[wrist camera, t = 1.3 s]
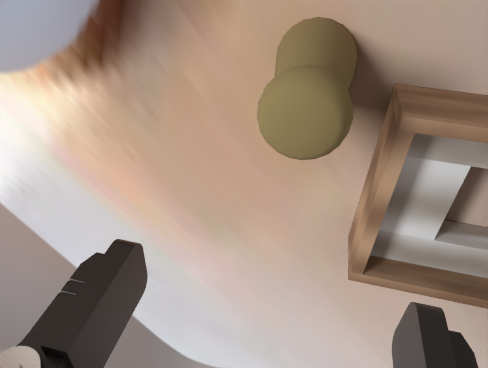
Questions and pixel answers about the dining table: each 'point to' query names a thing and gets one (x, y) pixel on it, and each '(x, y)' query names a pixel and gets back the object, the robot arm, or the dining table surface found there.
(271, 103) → the cork
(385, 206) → the wooden tray
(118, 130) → the dining table surface
